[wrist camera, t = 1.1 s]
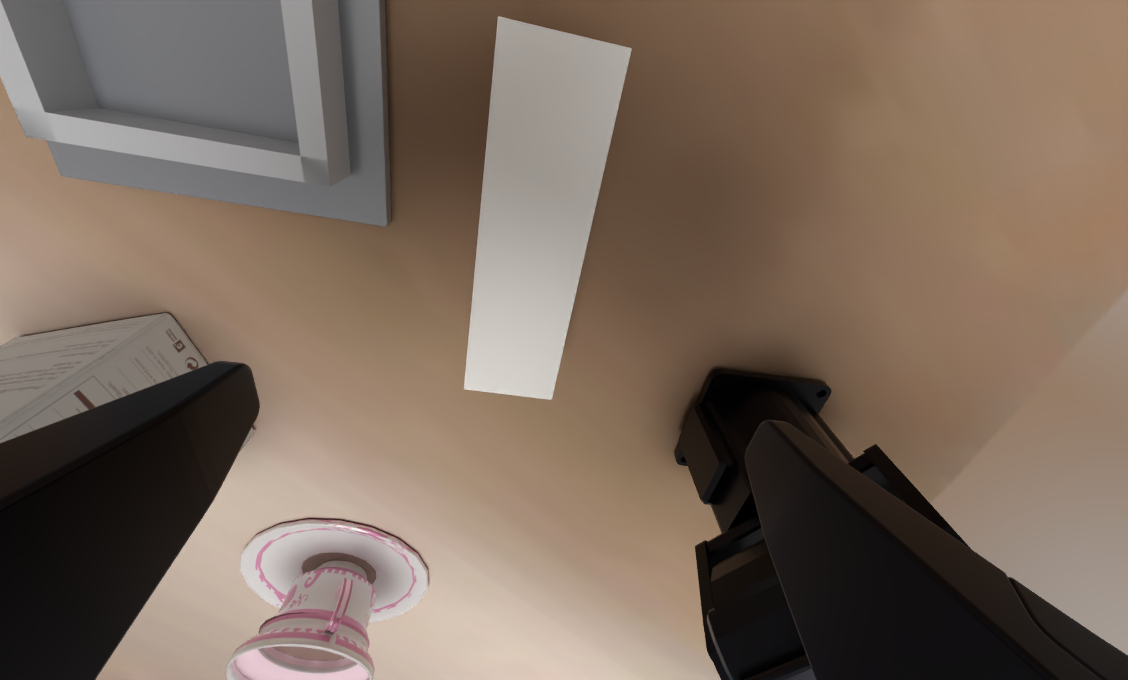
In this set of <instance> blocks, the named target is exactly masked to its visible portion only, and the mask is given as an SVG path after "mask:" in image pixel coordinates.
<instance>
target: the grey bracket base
mask: <svg viewBox="0 0 1128 680" xmlns="http://www.w3.org/2000/svg"><path fill="white" fill-rule="evenodd" d="M0 77H1V79H2V82H3V84H4V86H5V89H6V91H7V94H8V96H9V98H10V101H11V103H12V105H13V108H14V110H15V112H16V115H17V117H18V119H19V122H20V124H21V126H22V129H23V131H24V133H25V136H26V137H31V138H37V139H43V140H47V143H48V145H49V148H50V150H51V153H52V155H53V158H54V160H55V163H56V165H57V168H58V170H59V172H60V175H61V176H63V177H70V178H76V179H82V180H89V181H95V182H102V183H108V184H115V185H121V186H127V187H134V188H140V189H147V190H153V191H160V192H166V193H173V194H179V195H185V196H192V197H198V198H205V199H211V200H218V201H224V202H230V203H237V204H243V205H250V206H256V207H263V208H269V209H276V210H282V211H288V212H295V213H301V214H308V215H314V216H321V217H327V218H333V219H340V220H346V221H353V222H359V223H366V224H372V225H378V226H385V227H387V226H388V225H389V224H390V223H391V188H390V153H389V118H388V83H387V48H386V12H385V0H0Z"/></svg>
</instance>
